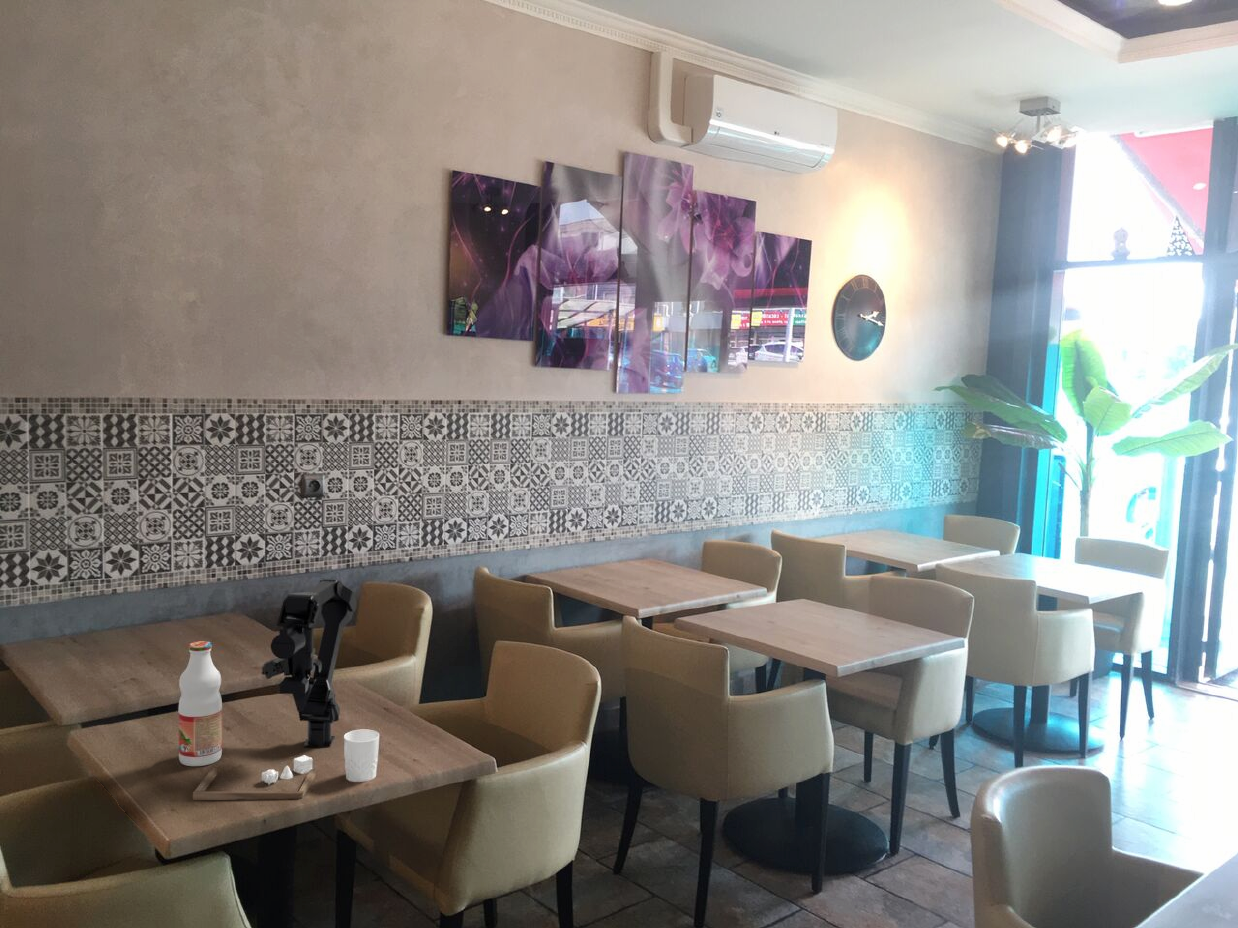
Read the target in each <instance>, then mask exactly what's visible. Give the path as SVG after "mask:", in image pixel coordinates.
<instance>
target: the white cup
mask: <svg viewBox="0 0 1238 928" xmlns="http://www.w3.org/2000/svg"><path fill="white" fill-rule="evenodd" d="M379 746H380V733H379V732H378V731H376V730H373V729H367V728H366V729H365V728H364V729H360V728H359V729H355V730H354V729H353V730H351V731H348V732H346V733H345V734H344V735H343V754H344V768H345V779H346V780H348V781H349V782H354V783H362V782H363V783H364V782H368V781H371V780H374V779H375V778H376V776H377V767H378V762H379V761H378V760H379Z"/></svg>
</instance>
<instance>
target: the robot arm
mask: <svg viewBox="0 0 1238 928" xmlns="http://www.w3.org/2000/svg"><path fill="white" fill-rule="evenodd" d="M357 601H358V600H357V597H356V596H355V594H354V592H353V590H351V589H350V588H348V587H346V585H344V584H343V582H342V580H339V579H338V578H337V579H334V578H323V579H320V580H319V582H318V583H317V584H315V585H313V586H311V587H310V588H309V589H307V590H305V591H303V592H291V593H288V595H286V597H285V599H284V600H283V602H282V605H281V609H280V612H279V616H278V619H277V624H276V626H277V627H281V628H280V629H278V630H279V633H278V634H277V635H275V636H274V638H273V639H272V641H271V643H270V649H271V652H272V654H273V656H275V657H276V658H273V659H269V660H267V661H266V662H264V664H263V665H262V666H261V670H262V671H261V674H262V675H264V676H265V679H267V680H269V679H272V677H276V676H279V675H282V674H283V676H285V677H283V678H282V679H281V681H279V683H278V684H277V693H278V694H279V695H283V694H284V695H286V694H287V695H292V697H293V699H294V703H295V707H296V710H297V712H298V719H299V721H300V722H302V721H304V722H307V739H306V740H305V742H304V744H303V747H304V748H331V746H332V744H333V743H334V741H335V739H336V736H335V735H332V724H333V723H334V722H338V721H340V714H341V713H340V711H341V707H340V706H339V704H338V703H337V701H336V693H335V689H334V688H333V685H332V682H333V678H334V673H335V668H336V663H337V658H338V654H339V650H340V649H339V648H340V646H341V645H340V644H341V641H342V640H341V639H342V636H343V635H342V634H343V631H344V628H345V627H346V626H347V625H348V624H349V623H350V621H352V619H353V616H354V612H355V611H356V610H357V607H358V606H357V605H358V604H357V603H358V602H357ZM320 609H321V610H320ZM319 613H320V614H321V616H322V619H323V622H324V626H323V630H322V635H321V639H320V643H319V647H318V652H317V657H316V658H314V655H315V653H316V647H314V640H315V639H314V638H315V637H314V636H315V635H314V634H315V633H314V632H315V631H314V625H315V624H316V623H317V622H316V621H317V618H318V615H319ZM312 674H313V675H312ZM311 675H312V677H311Z"/></svg>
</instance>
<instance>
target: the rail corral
mask: <svg viewBox="0 0 1238 928" xmlns="http://www.w3.org/2000/svg"><path fill="white" fill-rule="evenodd" d="M217 776H218V770H217V768H211V770H210V771H209V772H208V773H207V774H206V776H205V777H204V779H202V781H201V782H200V784H199V785H197V787H196V788H195V790H194V791H193V792H192V800H193V801H205V800H206V801H225V800H226V801H236V800H237V799H246V800H291V799H292V800H295V799H296V800H298V799H303V798H304V796H305V795H306V793H307V790H308V789H309V788H310V786H311V784H312V782H313V780H314V779H315V777H316V768H313V769H311V770H310V771H309V772H308V774H307V775H306V777H305V779H304V781H303V783H302V785H301V787H300V788H299V790H297V791H295V790H293V791H292V790H288V791H285V790H283V791H282V790H281V791H278V790H277V791H274V790H270V791H269V790H266V791H264V790H261V791H260V790H257V791H255V790H252V791H250V790H249V791H248V790H247V791H246V790H245V791H244V790H243V791H242V790H236V791H235V790H227V791H226V790H224V791H223V790H207V789H208V787H209V786H210V784H211V783H212V782H213V781H214V779H215V778H216V777H217ZM237 801H238V800H237Z"/></svg>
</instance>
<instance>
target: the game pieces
mask: <svg viewBox="0 0 1238 928" xmlns="http://www.w3.org/2000/svg"><path fill="white" fill-rule="evenodd" d="M313 761H314V760H313V757H310V756H308V755H305V754H303V755H301V756H298V757H294V759H293V772H295V773H297V774H300V775H303V774H304V775H305V774H307V773H309V772H310V770H311V769H314V768H313ZM293 772H292V771H291V768H290V766H288V765H285V767H284V768H283V770H282V772H281V774H280V776H279V771H276V770H275V769H267V770H266V771H262V773H261V779H262V781H264V783H265V784H267V785H268V786H270V785H271V784H273V783H274V784H275V783H276V781H278V778H280V779H281V780H290V779H293V778H294V774H293Z"/></svg>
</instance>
